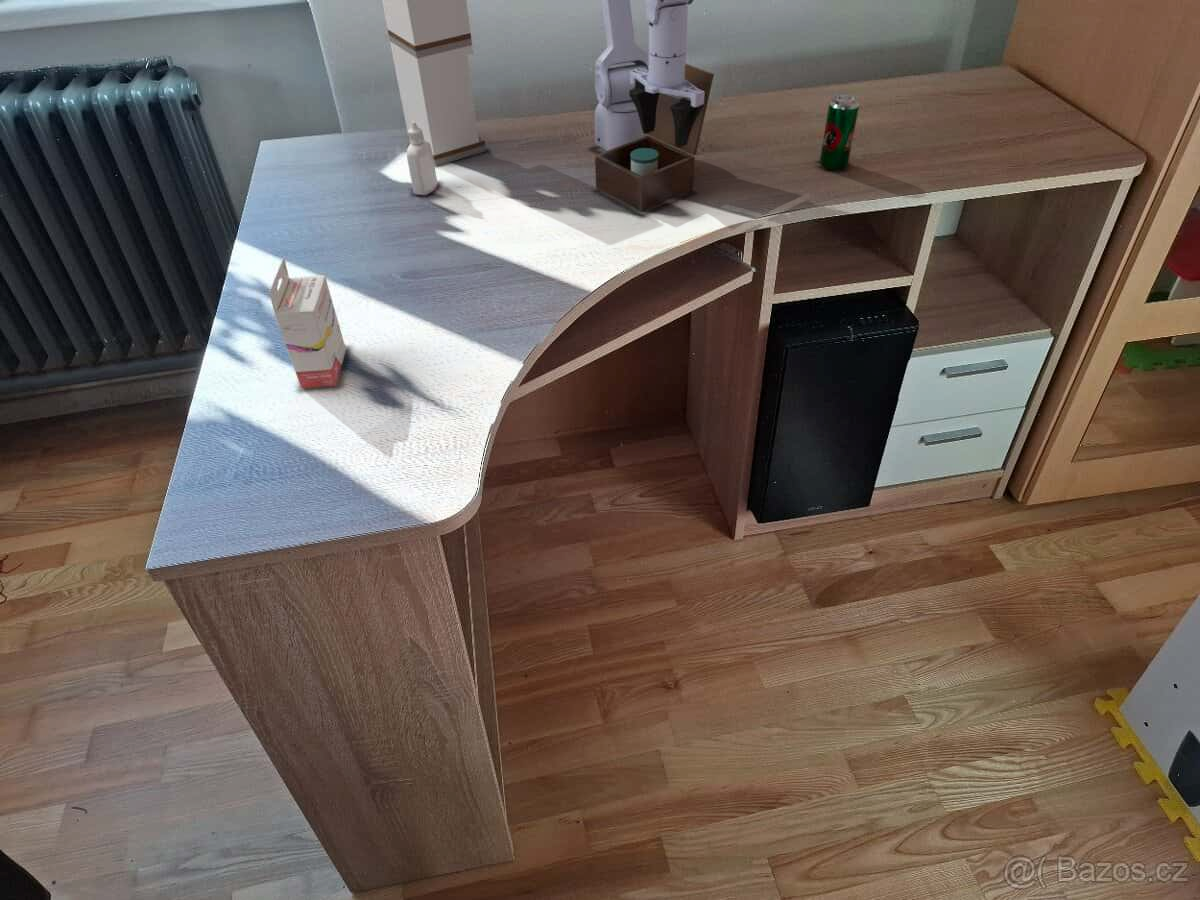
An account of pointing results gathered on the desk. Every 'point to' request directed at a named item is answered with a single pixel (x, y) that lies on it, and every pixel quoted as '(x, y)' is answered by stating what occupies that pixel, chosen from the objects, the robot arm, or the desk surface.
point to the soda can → (839, 131)
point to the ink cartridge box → (308, 327)
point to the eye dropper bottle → (420, 162)
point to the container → (644, 161)
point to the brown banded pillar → (435, 73)
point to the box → (651, 187)
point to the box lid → (663, 112)
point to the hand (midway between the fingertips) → (664, 138)
